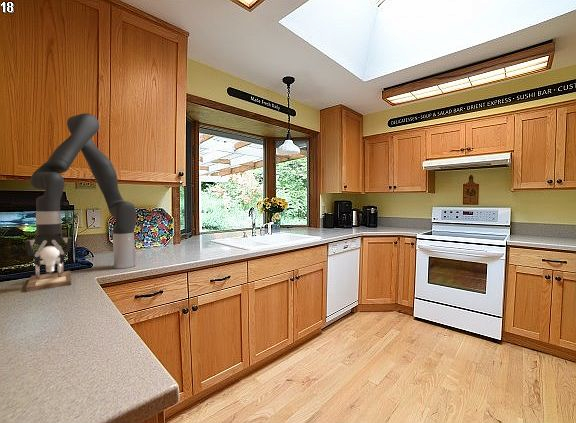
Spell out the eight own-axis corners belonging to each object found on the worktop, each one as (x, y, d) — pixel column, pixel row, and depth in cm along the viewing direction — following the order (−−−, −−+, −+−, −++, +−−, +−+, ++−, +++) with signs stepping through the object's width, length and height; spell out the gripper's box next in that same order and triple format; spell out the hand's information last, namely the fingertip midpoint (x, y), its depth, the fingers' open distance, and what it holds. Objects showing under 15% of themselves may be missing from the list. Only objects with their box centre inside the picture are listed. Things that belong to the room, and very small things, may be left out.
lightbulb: (35, 275, 104) (34, 246, 103) (45, 270, 110) (44, 244, 109) (55, 274, 105) (54, 246, 105) (64, 269, 112) (63, 243, 111)
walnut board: (70, 273, 124) (70, 270, 124) (70, 284, 109) (70, 281, 109) (31, 279, 116) (31, 275, 116) (26, 291, 100) (25, 287, 100)
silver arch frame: (63, 272, 121) (63, 256, 121) (63, 277, 114) (62, 260, 114) (36, 275, 116) (36, 259, 115) (34, 281, 108) (34, 263, 108)
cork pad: (66, 277, 113) (66, 276, 113) (65, 281, 108) (65, 280, 108) (36, 281, 108) (36, 280, 108) (35, 286, 102) (35, 284, 102)
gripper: (72, 221, 114) (73, 260, 115) (24, 222, 105) (26, 265, 106) (72, 222, 108) (73, 263, 109) (22, 224, 99) (23, 269, 100)
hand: (50, 264), depth 108 cm, fingers closed on lightbulb, 6 cm apart
